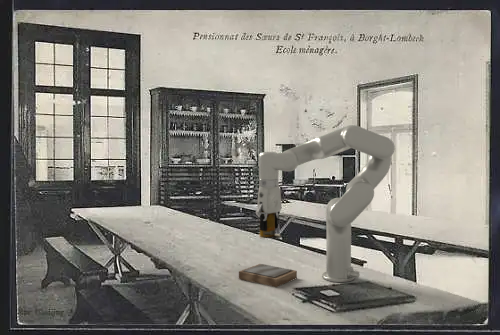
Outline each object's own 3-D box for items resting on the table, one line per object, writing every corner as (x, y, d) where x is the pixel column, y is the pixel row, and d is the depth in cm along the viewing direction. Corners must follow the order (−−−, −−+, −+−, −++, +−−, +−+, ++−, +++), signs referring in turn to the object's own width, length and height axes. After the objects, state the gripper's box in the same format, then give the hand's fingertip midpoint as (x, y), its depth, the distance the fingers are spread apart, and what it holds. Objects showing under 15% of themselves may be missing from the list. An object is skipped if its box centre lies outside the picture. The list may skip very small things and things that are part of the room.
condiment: (258, 234, 223) (258, 205, 222) (279, 234, 224) (279, 204, 223) (259, 238, 216) (259, 208, 215) (281, 238, 217) (281, 207, 215)
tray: (296, 278, 220) (296, 269, 220) (276, 287, 209) (276, 278, 209) (260, 270, 231) (259, 262, 231) (238, 278, 220) (238, 270, 219)
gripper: (262, 186, 209) (262, 234, 210) (289, 182, 222) (289, 226, 224) (247, 185, 213) (247, 231, 215) (274, 180, 227) (274, 224, 228)
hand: (268, 228), depth 219 cm, fingers closed on condiment, 6 cm apart
